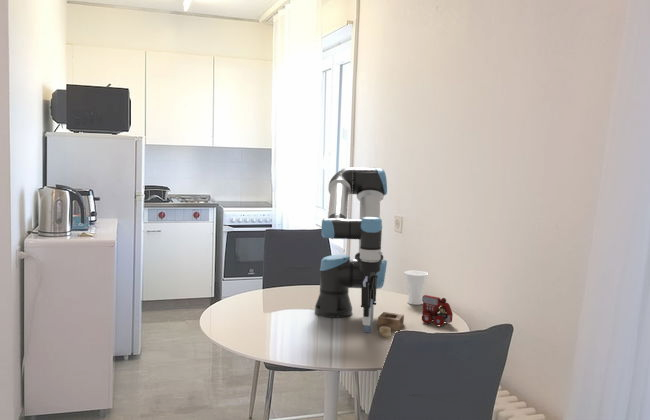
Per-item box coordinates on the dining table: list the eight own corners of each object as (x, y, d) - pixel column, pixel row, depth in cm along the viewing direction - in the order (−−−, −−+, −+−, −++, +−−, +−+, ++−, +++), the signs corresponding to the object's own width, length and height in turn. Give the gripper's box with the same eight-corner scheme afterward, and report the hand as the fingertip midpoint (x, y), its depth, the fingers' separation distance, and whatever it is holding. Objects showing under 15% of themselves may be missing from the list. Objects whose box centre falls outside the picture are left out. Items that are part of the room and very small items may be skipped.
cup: (430, 302, 251) (432, 272, 250) (421, 307, 242) (422, 276, 241) (408, 298, 257) (410, 269, 255) (398, 303, 248) (400, 273, 247)
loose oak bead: (377, 337, 202) (378, 328, 202) (380, 333, 206) (381, 325, 206) (388, 338, 201) (389, 330, 200) (391, 335, 204) (391, 327, 204)
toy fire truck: (447, 328, 214) (448, 301, 213) (417, 322, 221) (418, 296, 220) (454, 324, 220) (456, 298, 219) (425, 318, 227) (426, 292, 226)
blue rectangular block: (362, 332, 207) (364, 299, 206) (365, 330, 209) (366, 298, 208) (370, 333, 206) (371, 300, 205) (372, 331, 208) (373, 299, 207)
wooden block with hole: (377, 327, 212) (377, 317, 212) (383, 322, 220) (383, 312, 219) (398, 330, 210) (398, 320, 209) (403, 324, 217) (403, 314, 217)
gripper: (374, 264, 196) (371, 331, 199) (386, 257, 211) (383, 319, 213) (353, 262, 199) (351, 328, 201) (366, 255, 214) (364, 316, 216)
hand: (367, 323), depth 207 cm, fingers closed on blue rectangular block, 3 cm apart
